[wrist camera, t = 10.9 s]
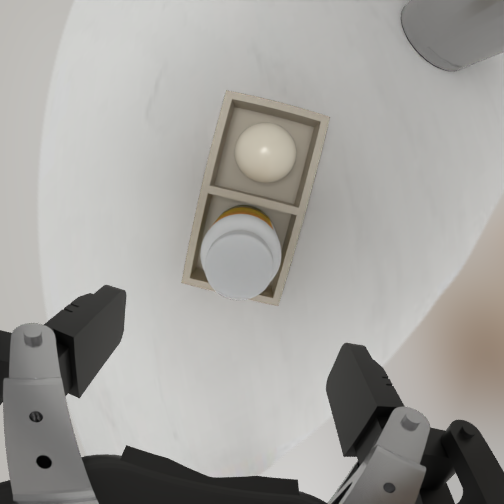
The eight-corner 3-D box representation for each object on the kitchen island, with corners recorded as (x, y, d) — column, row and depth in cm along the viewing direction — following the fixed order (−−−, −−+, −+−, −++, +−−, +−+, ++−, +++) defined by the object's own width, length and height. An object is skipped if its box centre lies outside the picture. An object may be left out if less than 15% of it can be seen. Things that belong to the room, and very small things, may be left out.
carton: (229, 100, 25) (226, 90, 21) (320, 124, 25) (330, 117, 22) (189, 270, 28) (181, 282, 25) (275, 291, 29) (278, 306, 25)
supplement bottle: (202, 221, 27) (174, 247, 17) (258, 193, 26) (260, 204, 17) (230, 274, 28) (218, 325, 18) (284, 249, 27) (301, 289, 18)
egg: (243, 121, 25) (241, 109, 20) (298, 135, 25) (308, 126, 20) (229, 174, 26) (224, 174, 21) (285, 188, 26) (291, 191, 21)
